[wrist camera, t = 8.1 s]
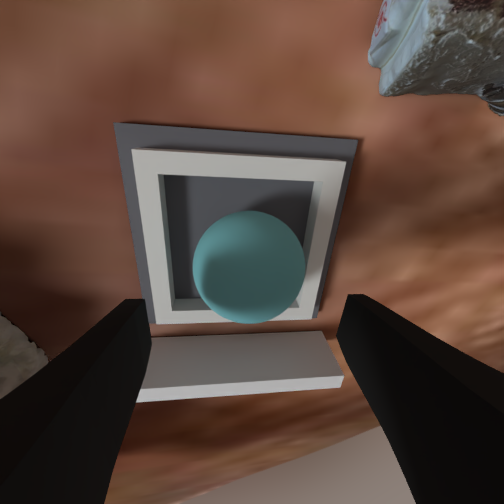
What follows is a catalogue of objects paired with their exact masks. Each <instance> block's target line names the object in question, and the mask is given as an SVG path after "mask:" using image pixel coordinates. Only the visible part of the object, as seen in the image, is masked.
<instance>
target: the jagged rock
mask: <svg viewBox="0 0 504 504" xmlns="http://www.w3.org/2000/svg"><path fill="white" fill-rule="evenodd" d="M44 353H45V352H44V351H43V350H42V349H41V348H37V347H36V344H35V343H34V342H32V343H30V342H29V341H28V337H27V336H26V335H25V333H24V332H22V331H21V330H20V329H19V328H18V327H16V326H14V325H12V324H11V321H9V320H7V318H5V317H2V316H1V312H0V399H1V398H2V397H4V396H5V395H7V394H8V393H9V392H11V391H12V390H14V389H15V388H16V387H18V386H19V385H21V384H22V383H23V382H25V381H26V380H27V379H29V378H30V377H31V376H33V375H34V374H35V373H36V372H38V371H39V370H40V369H42V368H43V367H44V366H45V365H47V364H48V357H47V355H45V356H44Z"/></svg>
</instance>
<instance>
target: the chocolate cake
mask: <svg viewBox="0 0 504 504" xmlns="http://www.w3.org/2000/svg"><path fill="white" fill-rule="evenodd" d="M368 62H369V64H370V65H371V66H372V67H378V68H380V69H381V77H380V82H379V93H380V95H382V96H398V95H403V94H407V93H414V94H417V95H429V94H443V93H458V94H477V95H478V96H479V97H480V98H481V99H482V100H485V101H487V102H488V105H489V106H488V107H490V109H491V110H492V111H493V112H494V113H496V114H498V115H499V116H504V0H383V2H382V5H381V8H380V11H379V15H378V18H377V22H376V26H375V29H374V32H373V35H372V42H371V47H370V49H369V51H368Z"/></svg>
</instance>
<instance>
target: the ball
mask: <svg viewBox="0 0 504 504" xmlns="http://www.w3.org/2000/svg"><path fill="white" fill-rule="evenodd" d="M193 276H194V281H195V285H196V288H197V290H198V292H199V294H200V296H201V298H202V299H203V300H204V302H205V303H206V304H207V305H208V306H209V307H210V309H212V310H213V311H214V312H216V313H217V314H218V315H220V316H222V317H223V318H226V319H228V320H231V321H233V322H237V323H246V324H253V323H261V322H265V321H268V320H270V319H273V318H275V317H277V316H278V315H280V314H281V313H283V312H284V311H285V310H286V309H287V308H289V307H290V305H291V304H292V303H293V302H294V300H295V299H296V298H297V296H298V294H299V292H300V290H301V288H302V285H303V282H304V278H305V258H304V252H303V249H302V246H301V244H300V242H299V240H298V238H297V237H296V235H295V234H294V233H293V231H292V230H291V229H290V228H289V227H288V226H287V225H286V224H285V223H283V222H282V221H281V220H279V219H278V218H276V217H274V216H272V215H269V214H266V213H263V212H258V211H240V212H236V213H232V214H229V215H227V216H225V217H222V218H221V219H219V220H218V221H216V222H215V223H214V224H212V225H211V226H210V227H209V228H208V229H207V230H206V231H205V233H204V234H203V235H202V237H201V238H200V240H199V242H198V245H197V247H196V250H195V253H194V258H193Z"/></svg>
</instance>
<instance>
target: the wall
mask: <svg viewBox="0 0 504 504" xmlns="http://www.w3.org/2000/svg"><path fill="white" fill-rule="evenodd" d="M151 340H152V347H151V352H150V357H149V361H148V366H147V370H146V374H145V377H144V380H143V383H142V386H141V389H140V392H139V395H138V398H137V401H136V402H149V401H163V400H176V399H190V398H204V397H217V396H231V395H245V394H258V393H272V392H286V391H299V390H313V389H326V388H340V387H341V384H342V381H343V378H344V374H343V372H342V370H341V368H340V366H339V364H338V362H337V360H336V358H335V356H334V354H333V352H332V350H331V348H330V346H329V344H328V342H327V340H326V339H325V337H324V335H323V333H322V331H306V332H281V333H256V334H231V335H206V336H181V337H156V338H151Z"/></svg>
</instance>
